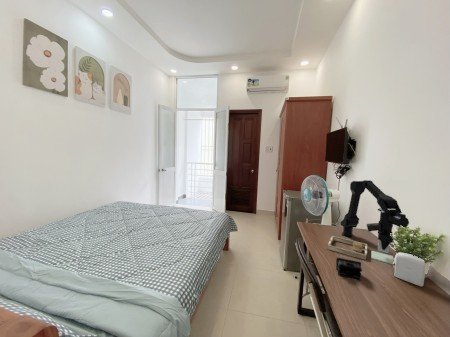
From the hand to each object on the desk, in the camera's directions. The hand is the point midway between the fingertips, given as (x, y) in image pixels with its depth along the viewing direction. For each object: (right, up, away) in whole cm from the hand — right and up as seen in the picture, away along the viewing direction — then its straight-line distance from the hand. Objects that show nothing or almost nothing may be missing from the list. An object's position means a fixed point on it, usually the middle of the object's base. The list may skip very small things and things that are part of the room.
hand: (383, 248), depth 115 cm
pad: (0, -6, +1) cm, 6 cm away
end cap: (-29, -7, -16) cm, 34 cm away
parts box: (0, -1, 0) cm, 1 cm away
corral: (-14, -4, +10) cm, 18 cm away
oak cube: (-9, -5, +9) cm, 13 cm away
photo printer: (-3, -8, -19) cm, 21 cm away
